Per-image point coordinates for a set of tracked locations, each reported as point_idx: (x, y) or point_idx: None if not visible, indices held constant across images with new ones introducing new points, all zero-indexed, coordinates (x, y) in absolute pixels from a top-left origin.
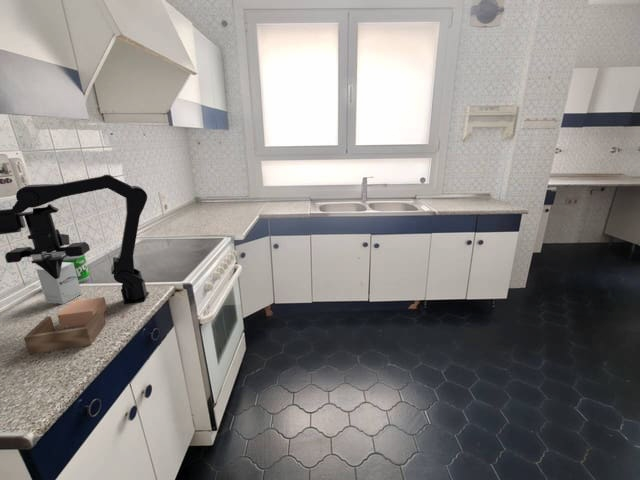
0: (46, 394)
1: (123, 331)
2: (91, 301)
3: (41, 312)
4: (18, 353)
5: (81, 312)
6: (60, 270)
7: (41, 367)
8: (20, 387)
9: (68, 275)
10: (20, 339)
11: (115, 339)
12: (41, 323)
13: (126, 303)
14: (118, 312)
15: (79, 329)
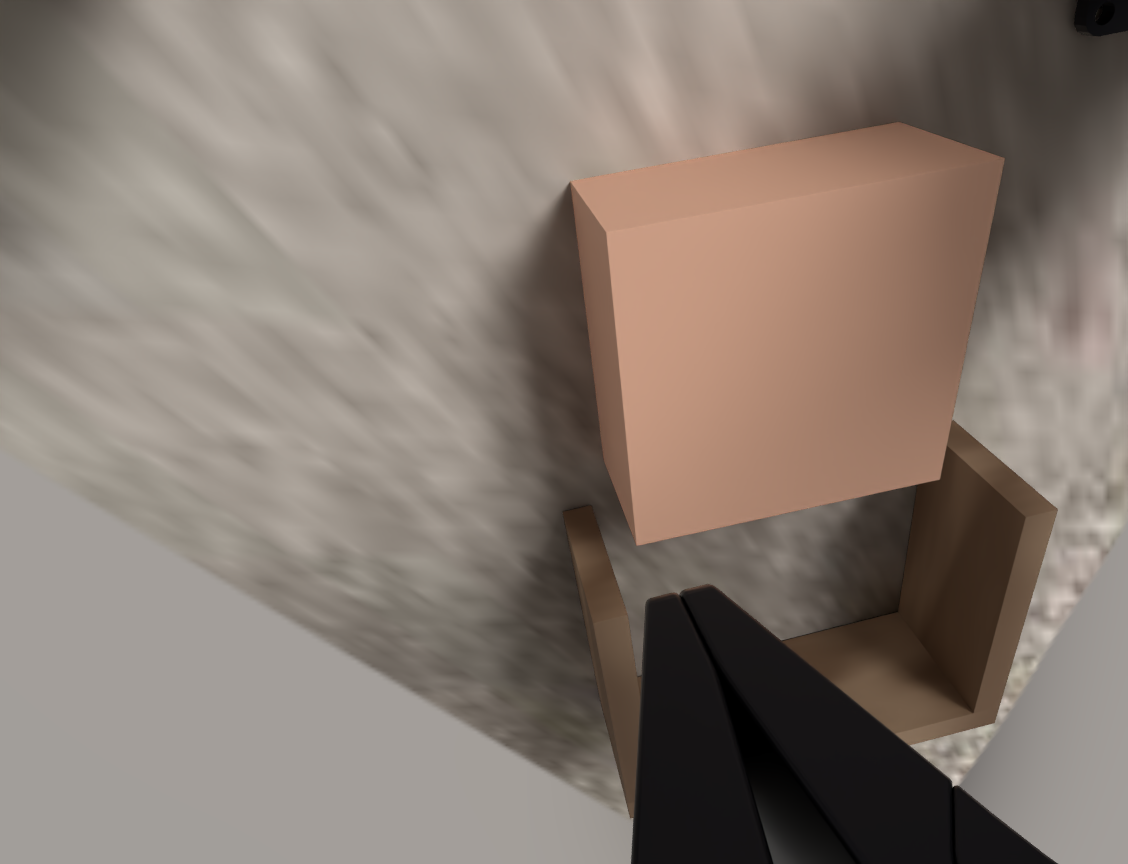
0: None
1: (1082, 509)
2: (873, 278)
3: (61, 127)
4: (520, 699)
5: (846, 497)
6: (844, 702)
7: None
8: None
9: None
10: (385, 593)
11: (1041, 579)
12: (628, 700)
13: (1106, 32)
14: (1026, 233)
15: (951, 732)
